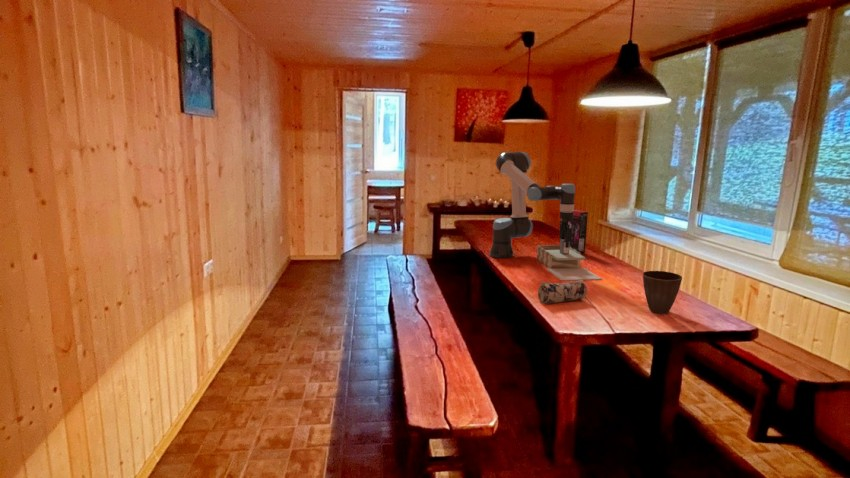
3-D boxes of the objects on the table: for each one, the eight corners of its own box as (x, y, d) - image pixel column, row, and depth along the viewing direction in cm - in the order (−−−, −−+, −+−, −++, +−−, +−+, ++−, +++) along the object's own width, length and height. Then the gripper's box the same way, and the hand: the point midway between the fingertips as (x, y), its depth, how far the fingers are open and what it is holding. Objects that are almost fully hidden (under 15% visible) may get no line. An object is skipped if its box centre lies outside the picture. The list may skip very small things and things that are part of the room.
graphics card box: (559, 249, 322) (562, 208, 317) (567, 248, 325) (570, 208, 319) (577, 254, 307) (580, 212, 301) (586, 253, 310) (588, 211, 304)
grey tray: (560, 280, 249) (561, 279, 249) (546, 269, 270) (546, 268, 270) (601, 279, 251) (601, 278, 251) (584, 268, 273) (584, 267, 272)
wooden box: (536, 259, 294) (537, 245, 292) (565, 258, 295) (565, 244, 293) (549, 268, 272) (549, 253, 270) (579, 268, 274) (580, 253, 272)
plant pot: (640, 314, 201) (643, 278, 198) (638, 303, 214) (641, 269, 211) (680, 319, 196) (684, 281, 192) (675, 307, 209) (679, 272, 206)
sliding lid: (544, 252, 282) (545, 236, 280) (570, 251, 284) (571, 236, 282) (557, 260, 263) (557, 243, 261) (585, 259, 264) (586, 243, 262)
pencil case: (546, 306, 211) (547, 285, 209) (536, 300, 219) (537, 280, 217) (588, 301, 217) (589, 281, 215) (577, 296, 225) (578, 276, 223)
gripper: (579, 213, 260) (576, 255, 265) (567, 209, 277) (565, 248, 281) (566, 213, 259) (563, 255, 264) (554, 209, 276) (552, 249, 281)
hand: (564, 252), depth 273 cm, fingers closed on sliding lid, 4 cm apart
